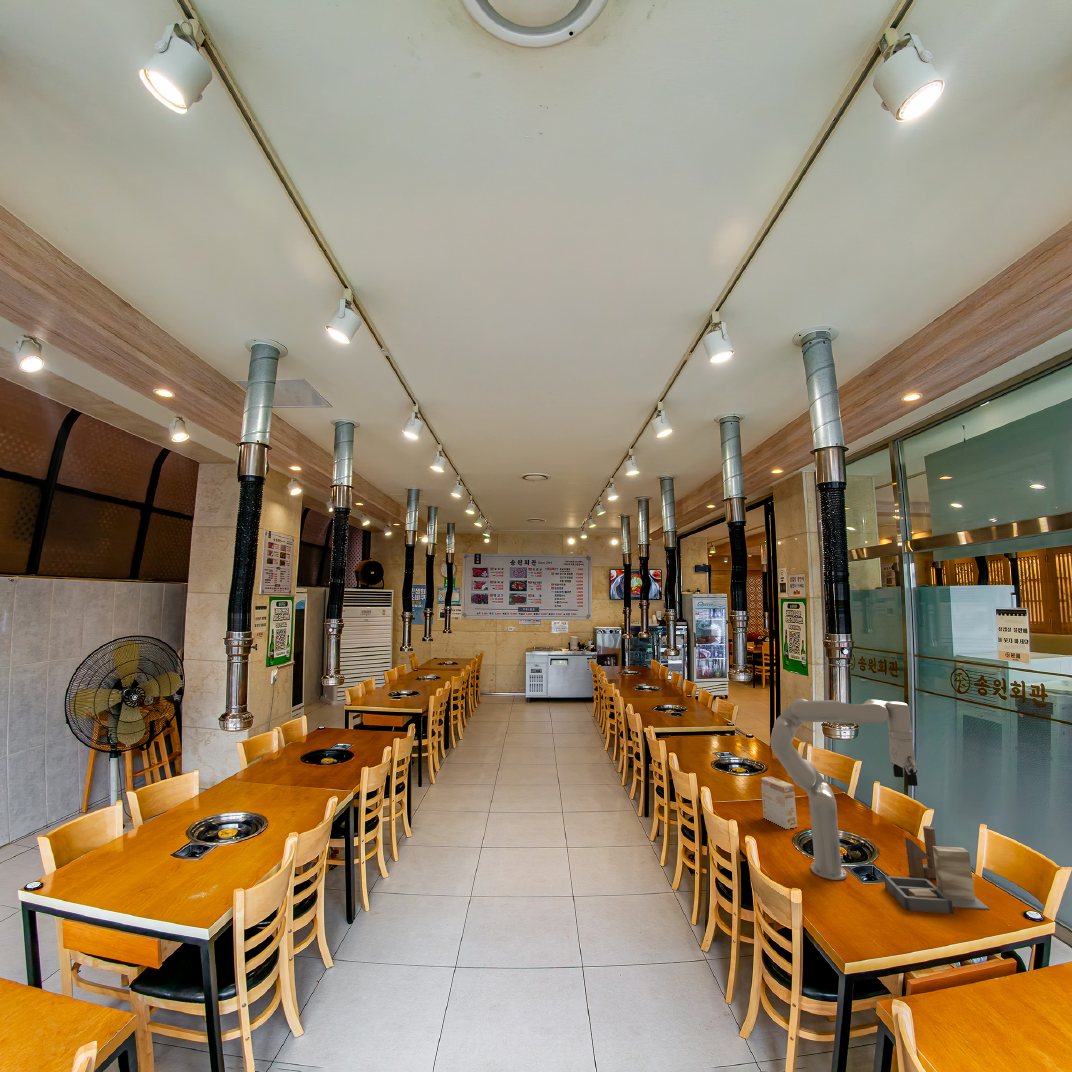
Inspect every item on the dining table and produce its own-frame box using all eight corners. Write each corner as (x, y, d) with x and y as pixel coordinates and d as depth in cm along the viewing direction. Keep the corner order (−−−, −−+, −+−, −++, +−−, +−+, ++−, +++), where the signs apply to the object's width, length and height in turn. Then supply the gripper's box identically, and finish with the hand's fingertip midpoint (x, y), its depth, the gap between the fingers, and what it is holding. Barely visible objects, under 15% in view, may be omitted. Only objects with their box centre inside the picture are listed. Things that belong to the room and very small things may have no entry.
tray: (885, 887, 192) (884, 875, 192) (928, 890, 189) (926, 878, 190) (906, 910, 177) (905, 897, 178) (953, 913, 175) (951, 901, 175)
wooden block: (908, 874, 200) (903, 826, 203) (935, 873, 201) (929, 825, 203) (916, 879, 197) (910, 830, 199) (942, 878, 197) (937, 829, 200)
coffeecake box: (798, 827, 244) (794, 785, 246) (786, 830, 241) (783, 786, 244) (774, 816, 258) (771, 775, 260) (763, 818, 255) (760, 777, 258)
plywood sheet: (938, 892, 187) (932, 846, 189) (968, 894, 185) (962, 847, 187) (943, 897, 183) (938, 850, 185) (975, 900, 182) (969, 852, 184)
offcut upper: (909, 896, 182) (908, 888, 182) (929, 896, 181) (928, 889, 182) (916, 902, 178) (915, 895, 178) (937, 903, 177) (936, 895, 178)
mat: (927, 888, 191) (927, 886, 191) (966, 890, 188) (966, 889, 188) (947, 906, 179) (947, 905, 179) (989, 909, 177) (989, 908, 177)
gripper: (879, 729, 207) (883, 773, 205) (901, 740, 190) (907, 788, 188) (899, 729, 206) (904, 774, 203) (923, 740, 189) (929, 789, 187)
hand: (905, 781), depth 196 cm, fingers open, 9 cm apart
